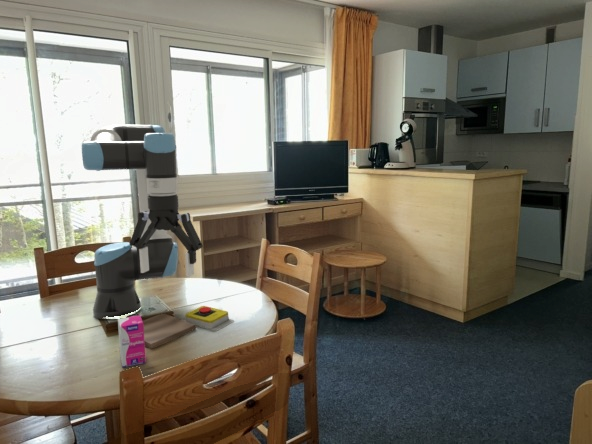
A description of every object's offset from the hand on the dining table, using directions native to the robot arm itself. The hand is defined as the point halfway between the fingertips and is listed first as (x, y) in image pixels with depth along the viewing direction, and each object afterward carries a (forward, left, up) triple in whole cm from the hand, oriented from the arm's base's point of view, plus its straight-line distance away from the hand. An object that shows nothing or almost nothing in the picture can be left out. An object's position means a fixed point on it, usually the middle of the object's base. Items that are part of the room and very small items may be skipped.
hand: (167, 273), depth 115 cm
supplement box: (-4, -9, -23) cm, 25 cm away
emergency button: (-8, +20, -23) cm, 32 cm away
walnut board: (-14, +6, -22) cm, 27 cm away
